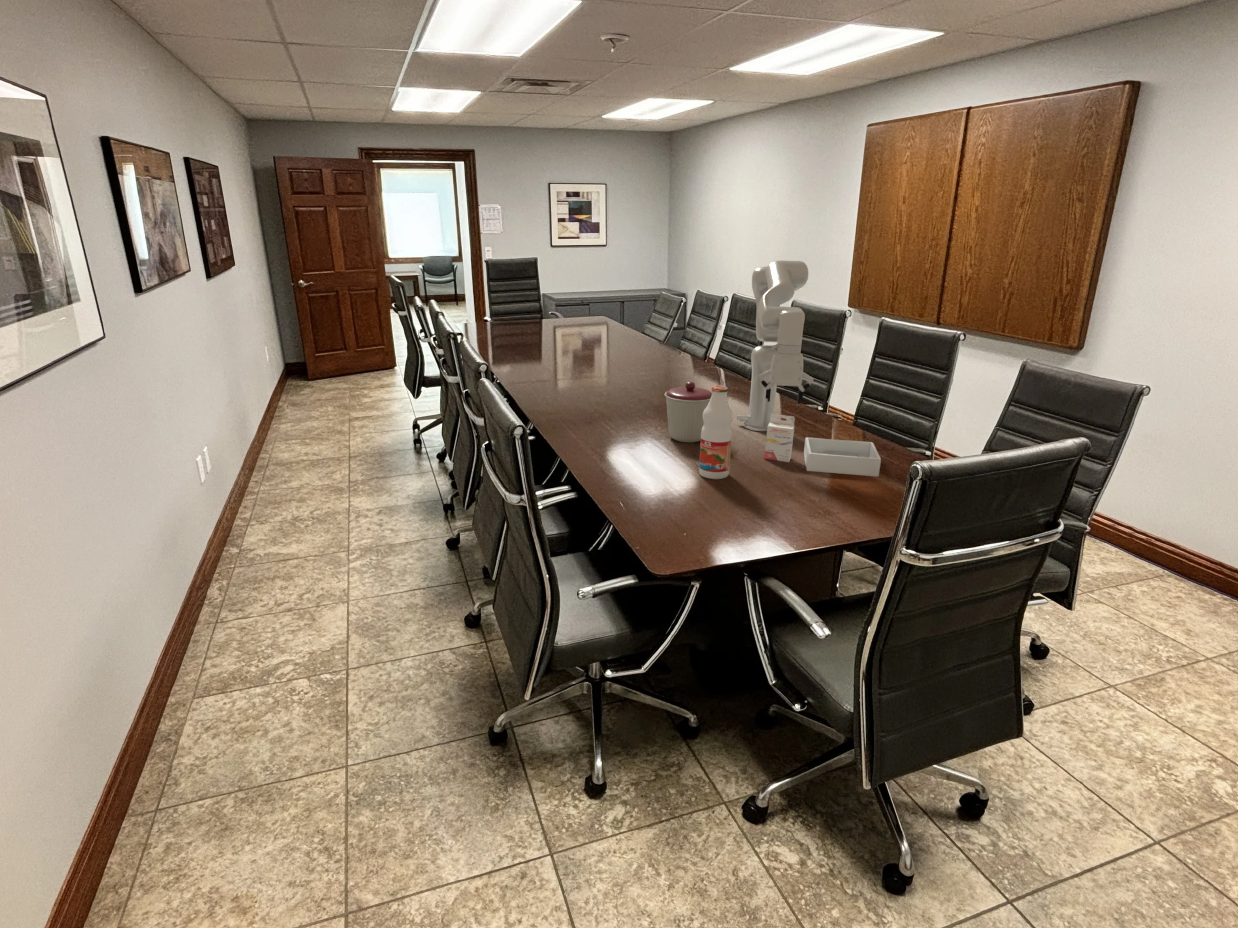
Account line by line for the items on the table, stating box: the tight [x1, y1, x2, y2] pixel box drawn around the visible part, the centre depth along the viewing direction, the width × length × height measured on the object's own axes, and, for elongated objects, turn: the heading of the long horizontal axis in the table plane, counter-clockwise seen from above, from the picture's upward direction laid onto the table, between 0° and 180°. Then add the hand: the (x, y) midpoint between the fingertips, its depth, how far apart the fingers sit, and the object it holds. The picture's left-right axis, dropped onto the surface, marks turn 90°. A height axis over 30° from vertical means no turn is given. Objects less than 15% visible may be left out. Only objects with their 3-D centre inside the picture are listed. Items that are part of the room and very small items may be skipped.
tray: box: [803, 436, 882, 477], centre depth 227 cm, size 22×18×6 cm
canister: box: [664, 381, 712, 443], centre depth 249 cm, size 18×18×21 cm
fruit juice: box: [698, 385, 734, 480], centre depth 212 cm, size 9×9×28 cm
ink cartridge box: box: [763, 413, 796, 463], centre depth 230 cm, size 9×5×15 cm, turn 71°
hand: (783, 401), depth 226 cm, fingers open, 9 cm apart
